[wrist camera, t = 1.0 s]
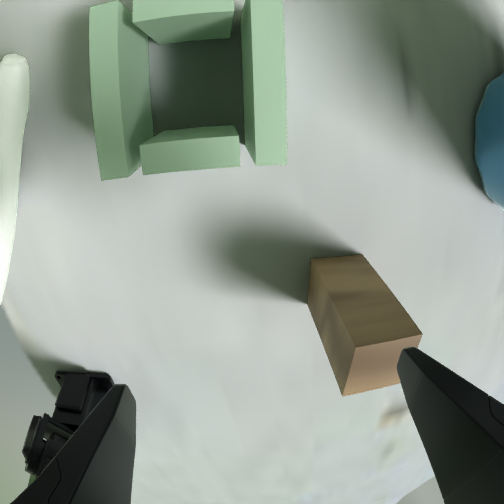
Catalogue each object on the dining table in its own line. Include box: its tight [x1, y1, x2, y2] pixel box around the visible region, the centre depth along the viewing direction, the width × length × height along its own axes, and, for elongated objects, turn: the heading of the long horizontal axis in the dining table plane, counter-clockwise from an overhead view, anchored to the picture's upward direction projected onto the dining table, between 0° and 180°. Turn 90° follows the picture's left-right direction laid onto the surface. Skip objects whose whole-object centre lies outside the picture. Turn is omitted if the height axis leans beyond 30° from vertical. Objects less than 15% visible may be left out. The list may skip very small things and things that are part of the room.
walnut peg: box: [307, 255, 423, 396], centre depth 19 cm, size 4×4×9 cm
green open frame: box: [89, 0, 287, 181], centre depth 13 cm, size 8×8×6 cm
